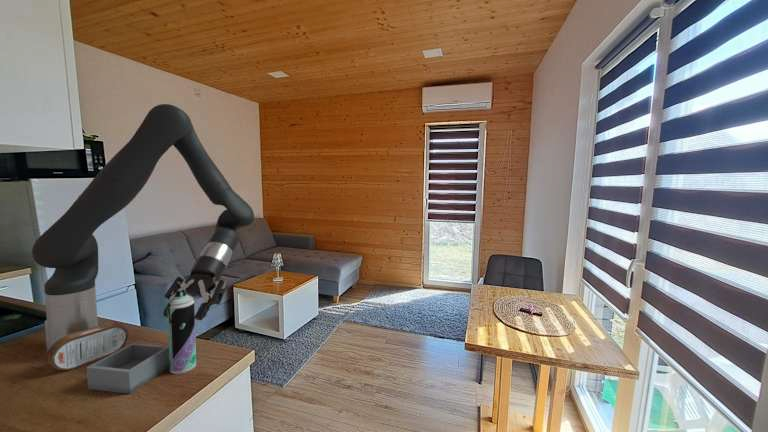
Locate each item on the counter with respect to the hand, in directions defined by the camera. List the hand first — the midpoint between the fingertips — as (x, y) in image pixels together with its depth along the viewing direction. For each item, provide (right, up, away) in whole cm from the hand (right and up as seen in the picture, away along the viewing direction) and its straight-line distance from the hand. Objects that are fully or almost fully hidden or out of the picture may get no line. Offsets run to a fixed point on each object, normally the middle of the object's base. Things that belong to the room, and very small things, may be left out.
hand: (182, 318), depth 73 cm
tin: (-25, -12, +3) cm, 28 cm away
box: (-10, -13, -3) cm, 16 cm away
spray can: (0, -13, +1) cm, 13 cm away
